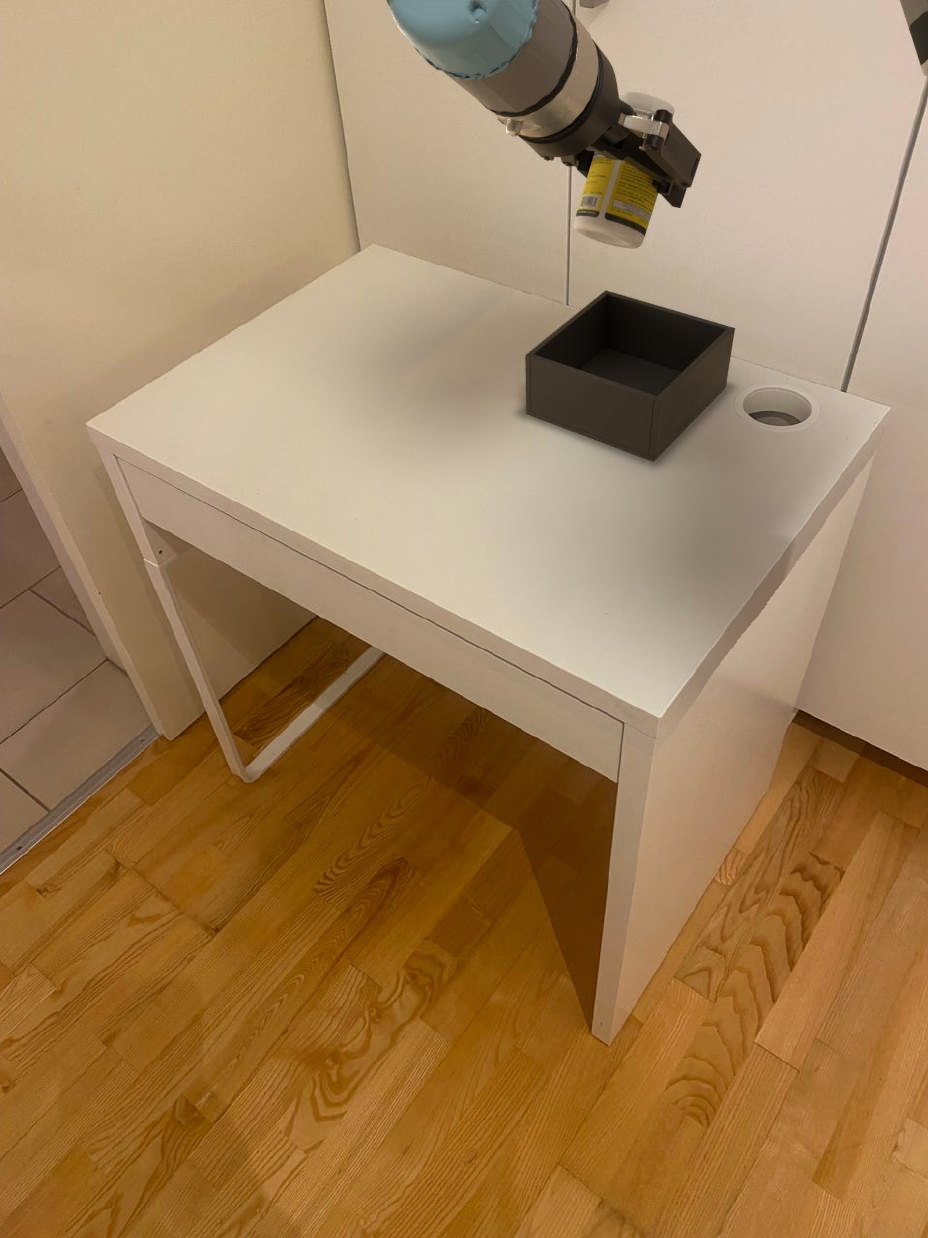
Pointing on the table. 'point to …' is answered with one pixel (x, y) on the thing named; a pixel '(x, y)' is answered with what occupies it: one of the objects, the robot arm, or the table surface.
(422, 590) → the table surface
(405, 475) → the table surface
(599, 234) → the pill bottle
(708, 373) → the basket
